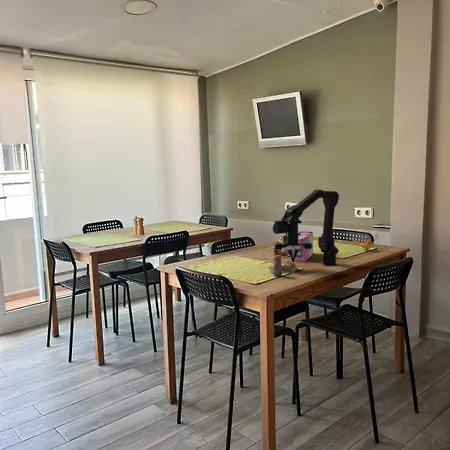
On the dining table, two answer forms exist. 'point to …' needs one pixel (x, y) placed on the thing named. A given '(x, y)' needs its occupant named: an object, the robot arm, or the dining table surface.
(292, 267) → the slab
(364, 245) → the magic lamp
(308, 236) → the gum box
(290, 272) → the mat
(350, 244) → the dining table surface
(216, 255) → the dining table surface
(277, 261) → the pepper mill
